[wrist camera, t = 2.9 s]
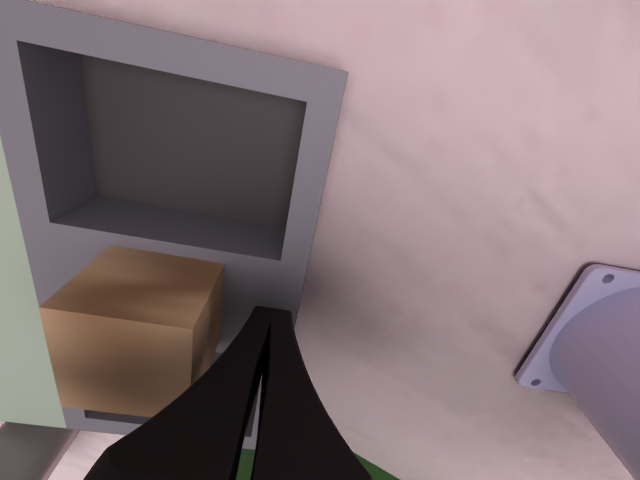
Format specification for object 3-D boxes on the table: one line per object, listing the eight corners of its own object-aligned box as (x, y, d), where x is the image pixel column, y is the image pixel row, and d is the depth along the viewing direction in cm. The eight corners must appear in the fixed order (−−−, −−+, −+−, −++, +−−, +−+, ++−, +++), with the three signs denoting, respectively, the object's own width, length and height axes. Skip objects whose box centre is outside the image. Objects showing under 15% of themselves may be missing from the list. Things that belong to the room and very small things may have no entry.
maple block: (224, 263, 12) (192, 329, 9) (217, 343, 14) (189, 422, 11) (111, 245, 12) (38, 307, 9) (119, 330, 14) (61, 406, 11)
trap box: (341, 71, 12) (348, 71, 9) (274, 400, 20) (268, 451, 17) (-149, -39, 11) (-305, -74, 8) (-11, 364, 19) (-66, 413, 16)
